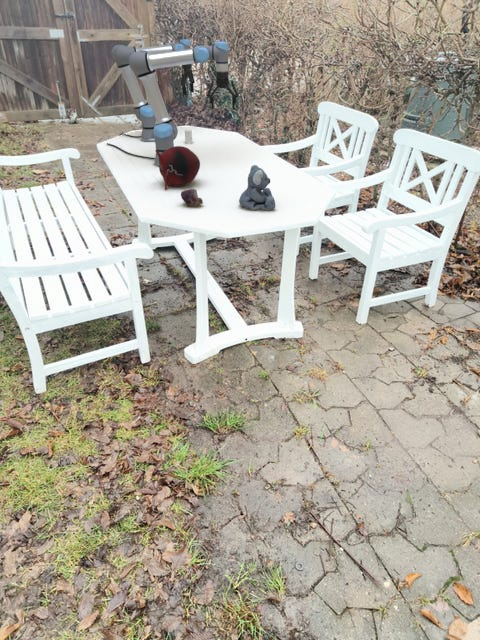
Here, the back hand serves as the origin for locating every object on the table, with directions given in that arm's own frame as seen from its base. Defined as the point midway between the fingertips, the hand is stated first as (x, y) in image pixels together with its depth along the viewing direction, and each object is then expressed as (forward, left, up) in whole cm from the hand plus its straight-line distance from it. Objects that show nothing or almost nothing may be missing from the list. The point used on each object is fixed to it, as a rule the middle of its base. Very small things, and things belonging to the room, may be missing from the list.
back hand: (188, 93), depth 357 cm
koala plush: (+107, -147, -28) cm, 184 cm away
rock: (+75, -156, -28) cm, 176 cm away
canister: (+16, -36, -28) cm, 48 cm away
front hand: (+58, -68, +2) cm, 89 cm away
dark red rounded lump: (+54, -126, -28) cm, 140 cm away
